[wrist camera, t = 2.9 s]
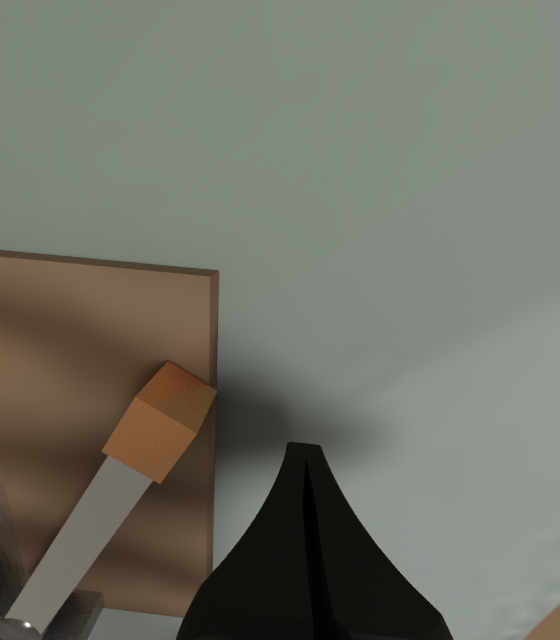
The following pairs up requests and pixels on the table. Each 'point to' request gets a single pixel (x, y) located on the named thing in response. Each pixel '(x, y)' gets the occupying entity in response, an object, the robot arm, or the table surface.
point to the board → (106, 413)
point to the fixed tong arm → (10, 577)
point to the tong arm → (112, 493)
